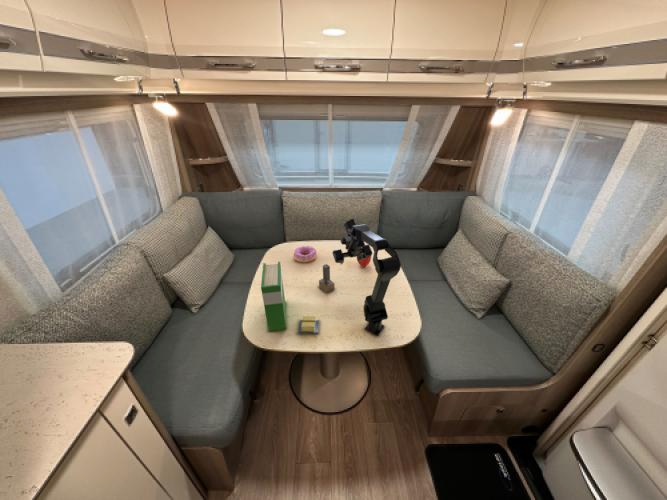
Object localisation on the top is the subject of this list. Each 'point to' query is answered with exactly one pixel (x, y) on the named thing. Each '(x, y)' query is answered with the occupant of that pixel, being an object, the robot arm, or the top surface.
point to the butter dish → (309, 325)
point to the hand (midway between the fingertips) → (349, 262)
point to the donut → (305, 250)
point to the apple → (364, 261)
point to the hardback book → (273, 296)
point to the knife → (326, 273)
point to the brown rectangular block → (326, 285)
